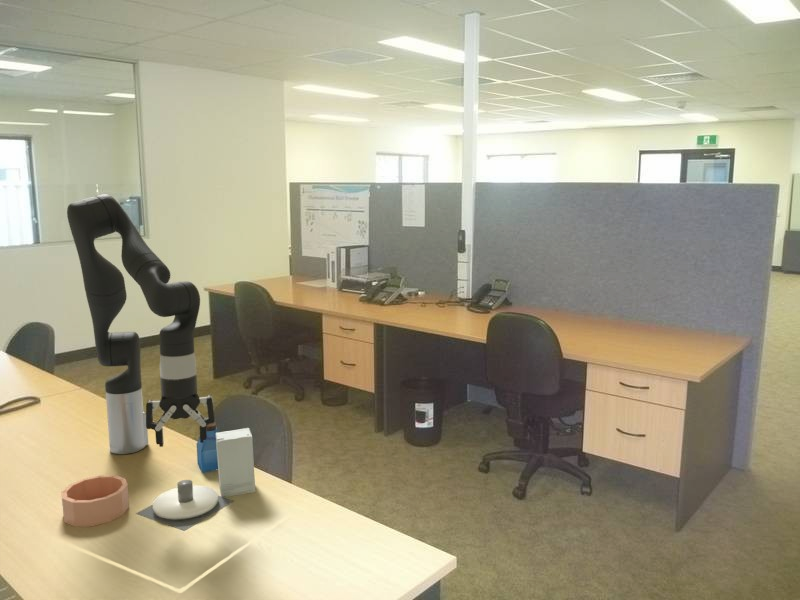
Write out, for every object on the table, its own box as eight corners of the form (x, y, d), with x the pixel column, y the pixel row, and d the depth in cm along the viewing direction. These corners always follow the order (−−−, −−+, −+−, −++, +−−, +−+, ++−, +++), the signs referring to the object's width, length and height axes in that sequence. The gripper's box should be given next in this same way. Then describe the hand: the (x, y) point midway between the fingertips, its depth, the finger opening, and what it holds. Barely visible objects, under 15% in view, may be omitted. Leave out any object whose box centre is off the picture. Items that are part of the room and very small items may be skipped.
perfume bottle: (201, 475, 159) (199, 430, 158) (197, 465, 165) (195, 422, 163) (226, 470, 162) (224, 426, 160) (221, 461, 168) (219, 418, 166)
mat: (187, 488, 152) (187, 486, 152) (234, 503, 145) (234, 500, 145) (135, 515, 139) (135, 513, 139) (184, 533, 132) (184, 530, 132)
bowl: (103, 494, 149) (101, 471, 148) (141, 507, 142) (139, 483, 141) (51, 519, 137) (48, 493, 136) (89, 534, 131) (87, 507, 130)
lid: (187, 487, 151) (186, 465, 150) (231, 501, 145) (230, 477, 144) (139, 512, 139) (137, 488, 138) (184, 528, 132) (183, 503, 132)
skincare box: (252, 483, 155) (250, 426, 152) (256, 494, 149) (254, 435, 147) (217, 489, 152) (215, 430, 149) (219, 500, 146) (217, 440, 144)
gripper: (141, 380, 131) (146, 453, 134) (212, 375, 135) (215, 446, 138) (145, 371, 138) (149, 440, 141) (212, 366, 142) (215, 434, 145)
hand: (182, 443), depth 139 cm, fingers open, 8 cm apart
